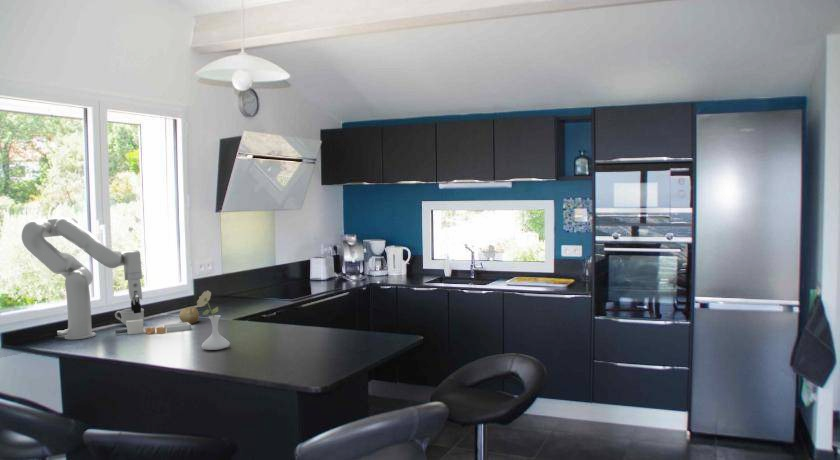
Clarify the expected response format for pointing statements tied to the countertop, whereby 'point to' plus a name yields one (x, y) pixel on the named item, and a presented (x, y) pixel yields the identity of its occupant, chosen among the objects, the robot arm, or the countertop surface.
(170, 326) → the holder
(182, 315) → the bread roll
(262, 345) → the countertop surface
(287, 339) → the countertop surface
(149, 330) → the clip
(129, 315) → the teacup
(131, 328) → the connector
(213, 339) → the flower in vase
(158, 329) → the clip
